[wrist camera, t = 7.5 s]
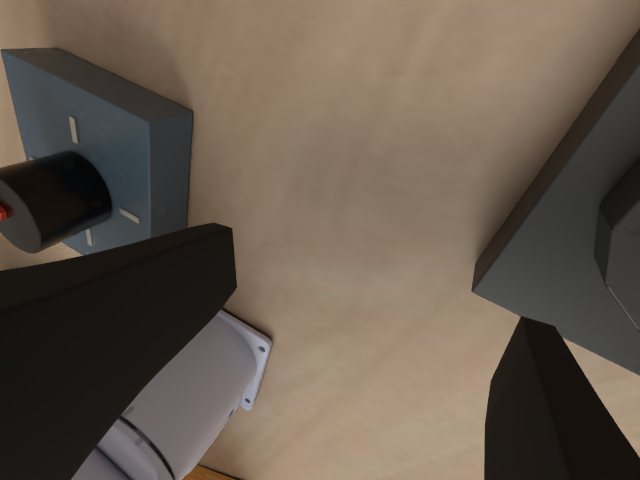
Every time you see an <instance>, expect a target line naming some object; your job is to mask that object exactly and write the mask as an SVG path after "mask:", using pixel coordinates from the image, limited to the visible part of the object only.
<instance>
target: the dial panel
mask: <svg viewBox="0 0 640 480" xmlns="http://www.w3.org/2000/svg"><path fill="white" fill-rule="evenodd" d="M1 54H2V58H3V63H4V67H5V71H6V75H7V80H8V84H9V88H10V92H11V97H12V101H13V105H14V109H15V114H16V118H17V122H18V126H19V131H20V135H21V139H22V143H23V148H24V152H25V156H26V160H27V161H29V160H32V159H36V158H40V157H44V156H48V155H52V154H55V153H59V152H63V151H69V152H73V153H76V154H78V155H80V156H81V157H83V158H84V159H85V160H87V161H88V162H89V163H90V164H91V165H92V166H93V167H94V169H95V170H96V171H97V172H98V174H99V175H100V177H101V178H102V180H103V182H104V184H105V186H106V188H107V190H108V193H109V196H110V201H111V213H110V216H109V218H108V219H107V220H106V221H105V222H103V223H100V224H98V225H96V226H94V227H92V228H90V229H87V230H85V231H83V232H81V233H79V234H77V235H74V236H72V237H70V238H68V239H66V240H64V241H61V242H62V243H64V244H66V245H67V246H69V247H70V248H72V249H74V250H75V251H77V252H79V253H80V254H82V255H83V256H84V255H88V254H92V253H96V252H100V251H104V250H108V249H112V248H116V247H120V246H124V245H128V244H132V243H135V242H139V241H143V240H146V239H150V238H153V237H157V236H161V235H164V234H168V233H172V232H175V231H179V230H183V229H186V222H187V205H188V187H189V170H190V153H191V135H192V118H193V112H192V111H191V110H189V109H186V108H184V107H182V106H180V105H178V104H176V103H174V102H172V101H169V100H167V99H165V98H163V97H161V96H159V95H157V94H154V93H152V92H150V91H148V90H146V89H144V88H142V87H140V86H137V85H135V84H133V83H131V82H129V81H127V80H125V79H122V78H120V77H118V76H116V75H114V74H112V73H110V72H108V71H105V70H103V69H101V68H99V67H97V66H95V65H93V64H90V63H88V62H86V61H84V60H82V59H80V58H78V57H76V56H73V55H71V54H69V53H67V52H65V51H63V50H61V49H58V48H26V49H1Z"/></svg>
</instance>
